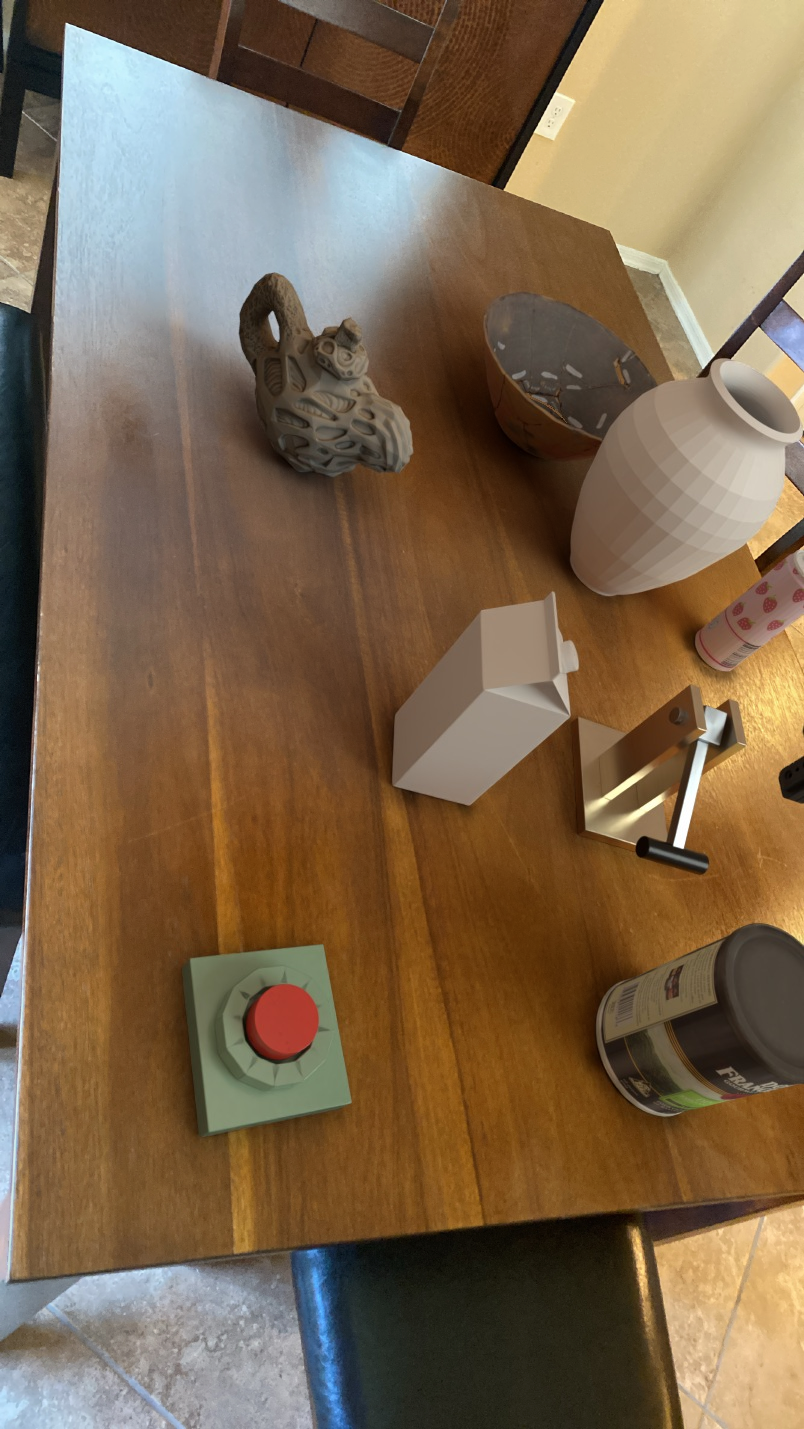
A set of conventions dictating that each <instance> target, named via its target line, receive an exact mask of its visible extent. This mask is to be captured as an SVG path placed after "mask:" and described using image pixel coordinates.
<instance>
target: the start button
mask: <svg viewBox="0 0 804 1429" xmlns="http://www.w3.org/2000/svg"><path fill="white" fill-rule="evenodd" d="M318 1025H319V1015H318V1010H317V1007H316V1004H315V1002H314V1001H313V999H312V997H311V996H310V995H309V994H308V993H307V992H306V991H304V990H303V989H302V988H300V987H298V986H295V985H291V984H280V985H276V986H273V987H272V988H270V989H268V990H267V991H266V992H265V993H263V994H262V995H261V996H260V997H259V998H258V999H257V1000H255V1002H254V1003H253V1004H252V1006H251V1007H250V1009H249V1011H248V1015H247V1019H246V1030H247V1035H248V1038H249V1040H250V1042H251V1044H252V1045H253V1047H254V1048H255V1049H256V1050H257V1051H258V1052H259V1053H260V1054H262V1055H263V1056H265V1057H267V1058H270V1059H275V1060H281V1059H287V1058H289V1057H292V1056H293V1055H295V1054H297V1053H298V1052H300V1051H301V1050H303V1049H305V1048H306V1047H307V1046H308V1045H309V1044H310V1043H311V1042H312V1041H313V1039H314V1037H315V1035H316V1033H317V1030H318Z"/></svg>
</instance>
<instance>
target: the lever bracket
mask: <svg viewBox="0 0 804 1429" xmlns="http://www.w3.org/2000/svg"><path fill="white" fill-rule="evenodd" d="M702 698H703V697H702V692H701V688H700V687H699V686H696V685H695V684H692V683H691V684H689V685H687V686H686V687H685V688H683V689H682V690H681V691H679V693H677V694H676V695H674V696H673V697H672V698H671V699H669V700H667V702H666V703H664V704H663V705H662V706H660V707H659V708H658V709H657V710H656V711H654V712H653V713H652V714H651V715H649V716H648V717H646V718H645V719H644V720H642V722H640V723H639V724H638V725H636V727H634V728H633V729H631V731H629V732H624V731H620V730H618V729H615V728H612V727H610V726H607V725H604V724H601V723H597V722H595V721H592V720H589V719H587V718H583V717H580V716H577V717H576V718H575V719H573V720H572V721H571V723H570V725H571V742H572V757H573V760H572V761H573V774H574V790H575V791H574V794H575V809H576V823H577V824H576V825H577V836H581V837H584V838H587V839H589V840H590V839H591V840H594V841H597V842H600V843H604V844H608V845H611V846H614V847H618V848H621V849H625V850H628V851H631V852H634V853H636V851H635V848H636V843H637V841H638V840H639V838H640V837H642V836H648V837H651V838H654V839H658V840H661V841H664V842H666V840H667V836H668V829H667V822H666V815H665V807H664V806H665V805H664V801H666V800H667V799H668V798H670V797H672V796H673V795H675V794H677V793H678V790H679V786H680V782H681V778H682V774H683V769H684V765H685V761H686V757H687V753H688V749H689V744H690V743H692V742H693V741H695V740H696V739H697V738H699V737H700V736H702V735H703V734H704V733H706V732H707V727H706V721H705V715H704V709H703V705H704V704H703V699H702ZM739 704H740V703H739V701H736V700H734V699H732V698H728V699H727V700H725V701H724V702H722V703H721V704H720V705H718V706H717V707H715V709H718V710H721V711H723V712H726V713H727V716H726V721H725V725H724V729H723V733H722V738H721V742H720V745H719V746H718V745H708V748H707V753H706V757H705V761H704V765H703V769H702V774H701V777H702V776H703V775H705V774H706V773H708V772H710V771H711V770H713V769H714V768H716V767H717V766H718V765H720V764H722V763H723V762H725V761H727V760H728V759H729V758H731V757H732V756H734V755H735V754H737V753H738V752H740V751H742V750H743V749H745V748H746V747H747V746H748V744H747V738H746V733H745V728H744V724H743V719H742V715H741V714H742V713H741V709H740V705H739Z"/></svg>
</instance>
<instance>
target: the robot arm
mask: <svg viewBox="0 0 804 1429" xmlns="http://www.w3.org/2000/svg"><path fill="white" fill-rule="evenodd" d="M801 732H802V735H803V737H804V725H803V726H802V731H801ZM778 783H779V788H780V793H781V797H782V798H783V799H786V800H789V801H791V802H794V803H798V804H801V805H803V804H804V755H803V756H801V757H799V758H797V759H796V760H794V761H793V762H791V763H789V764H788V765H786V766H784V767H783V768H781V770H780V771H779V772H778Z"/></svg>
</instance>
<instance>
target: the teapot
mask: <svg viewBox="0 0 804 1429" xmlns="http://www.w3.org/2000/svg"><path fill="white" fill-rule="evenodd" d="M272 312H273V314H274V317H275V320H276V324H277V326H278V338H279V339H278V340H277V339H276V338H275V336H274V333H273V330H272V326H271V321H270V319H269V316H270V315H271V313H272ZM238 315H239V316H238V317H239V323H238V324H239V326H238V337H239V343H240V347H241V351H242V353H243V355H244V358H245V359H246V361H247V362H248V364H249V366H250V368H251V371H252V373H253V375H254V382H255V386H254V405H255V407H256V412H257V414H258V415H257V416H258V419H259V423H260V425H261V427H262V429H263V432H264V433H265V435H266V437H267V439H268V441H269V442H270V444H271V446H272V447H273V449H274V451H275V453H277V454H278V455H279V456H281V457H282V458H284V459H285V460H286V461H287V462H288V463H289V465H290V466H291V467H293V469H295V470H296V471H297V472H298V473H308V472H312V471H314V472H315V473H317V474H322V475H325V476H326V477H328V478H334V477H337V476H339V475H341V474H342V473H348V472H350V471H353V470H354V469H355V468H356V466H357V465H358V464H359V465H361V466H362V467H365V468H369V469H371V470H372V471H374V472H377V473H379V474H381V473H385V474H386V473H395V474H399V475H400V473H401V471H403V469H404V468H405V467H406V465H408V463H409V462H410V461H411V460H410V459H411V456H412V455H413V454H414V447H413V432H412V431H411V421H410V420H409V419H408V417H407V416H406V415H405V413H404V411H403V409H402V406H400V405H398V404H396V403H394V402H393V401H391V400H390V399H386V398H384V397H382V396H380V395H379V393H378V391H377V389H376V386H375V385H374V383H373V381H372V379H371V378H370V377H369V376H368V374H366V373H367V372H368V369H369V368H368V367H369V363H370V360H369V356H368V352H367V350H366V348H365V346H364V345H363V343H362V339H363V332H362V327H360V325H359V324H358V323H357V322H356V321H355V320H354V319H353V318H352V317H351V316H350V317H348V318H345V319H343V320H342V321H341V323H340V324H339V326H338V325H334V326H326V327H324V328H323V330H322V332H321V334H320V335H317V336H315V334H314V333H313V331H312V330H311V327H310V326H309V324H308V321H307V317H306V315H305V311H304V307H303V304H302V302H301V300H300V298H299V294H298V292H297V291H296V288H295V287H294V285H293V283H291V281H290V280H289V279H288V278H287V277H286V276H285V275H283V274H281V273H277V272H269V273H265V274H264V275H263V276H262V277H261V278H260V279H258V281H256V282H255V283H254V284H253V286H252V288H251V290H250V292H249V293H248V295H247V297H246V298H245V300H244V302H243V303H242V306H241V308H240V311H239V314H238Z"/></svg>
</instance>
